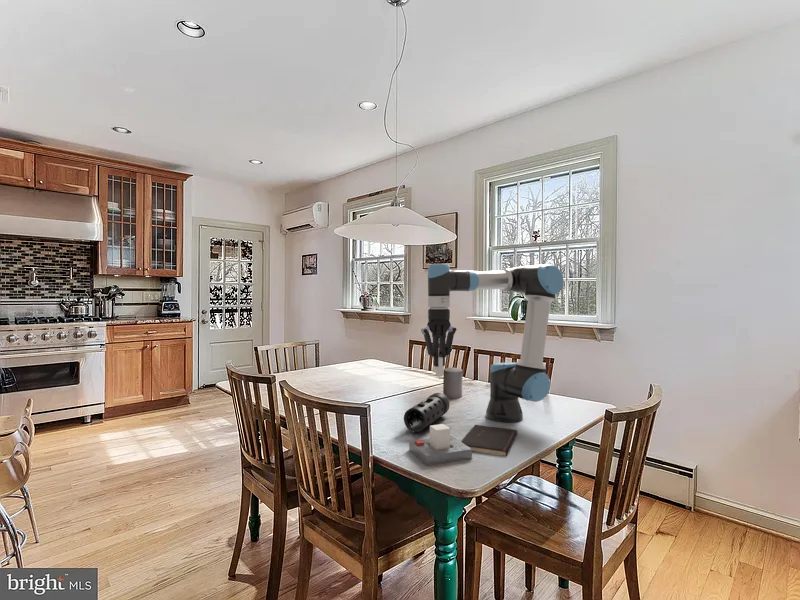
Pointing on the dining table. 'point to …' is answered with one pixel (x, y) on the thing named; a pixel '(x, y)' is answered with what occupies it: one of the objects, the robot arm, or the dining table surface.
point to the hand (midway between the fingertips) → (439, 375)
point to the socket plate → (440, 451)
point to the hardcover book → (490, 439)
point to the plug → (439, 437)
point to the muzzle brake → (426, 412)
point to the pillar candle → (452, 382)
